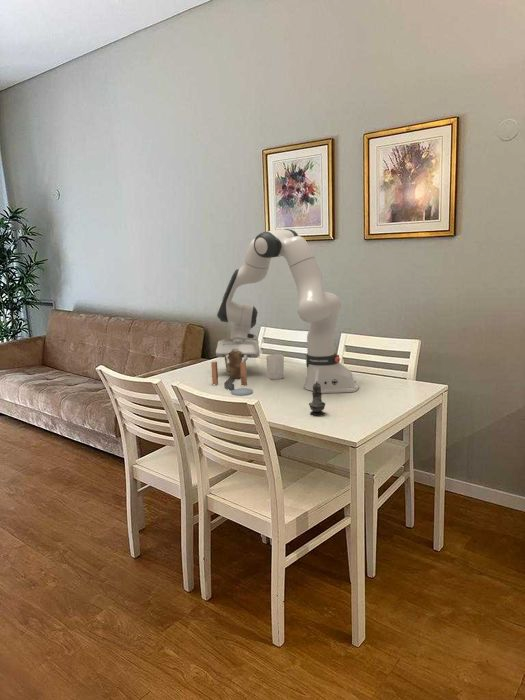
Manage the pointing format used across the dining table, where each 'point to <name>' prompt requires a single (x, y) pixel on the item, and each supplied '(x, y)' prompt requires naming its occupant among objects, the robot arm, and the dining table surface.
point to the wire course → (229, 382)
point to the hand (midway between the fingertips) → (235, 364)
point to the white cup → (275, 366)
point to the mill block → (235, 363)
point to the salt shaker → (317, 401)
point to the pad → (242, 391)
